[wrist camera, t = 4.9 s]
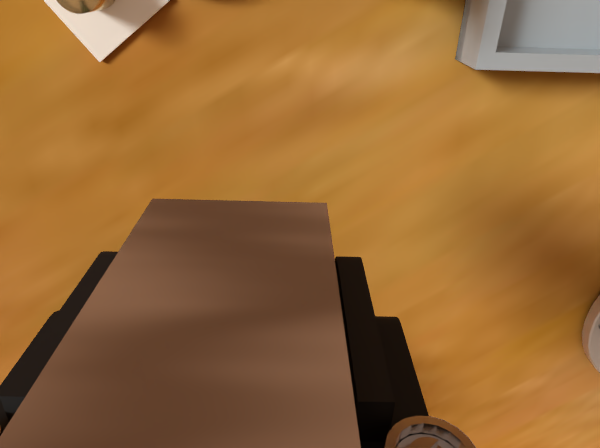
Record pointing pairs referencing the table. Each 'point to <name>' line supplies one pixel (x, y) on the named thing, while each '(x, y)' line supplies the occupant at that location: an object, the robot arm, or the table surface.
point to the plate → (108, 23)
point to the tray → (531, 35)
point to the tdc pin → (85, 5)
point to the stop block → (204, 339)
